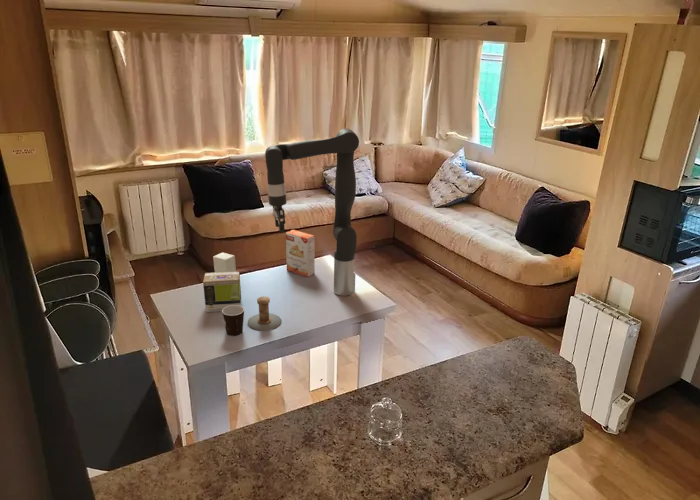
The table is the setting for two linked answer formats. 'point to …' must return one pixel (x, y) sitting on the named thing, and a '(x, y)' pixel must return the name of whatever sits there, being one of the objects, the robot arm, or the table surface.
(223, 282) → the tea box
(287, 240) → the cracker box
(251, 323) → the felt mat
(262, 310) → the wooden turned knob
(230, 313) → the coffee mug
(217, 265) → the skincare box
